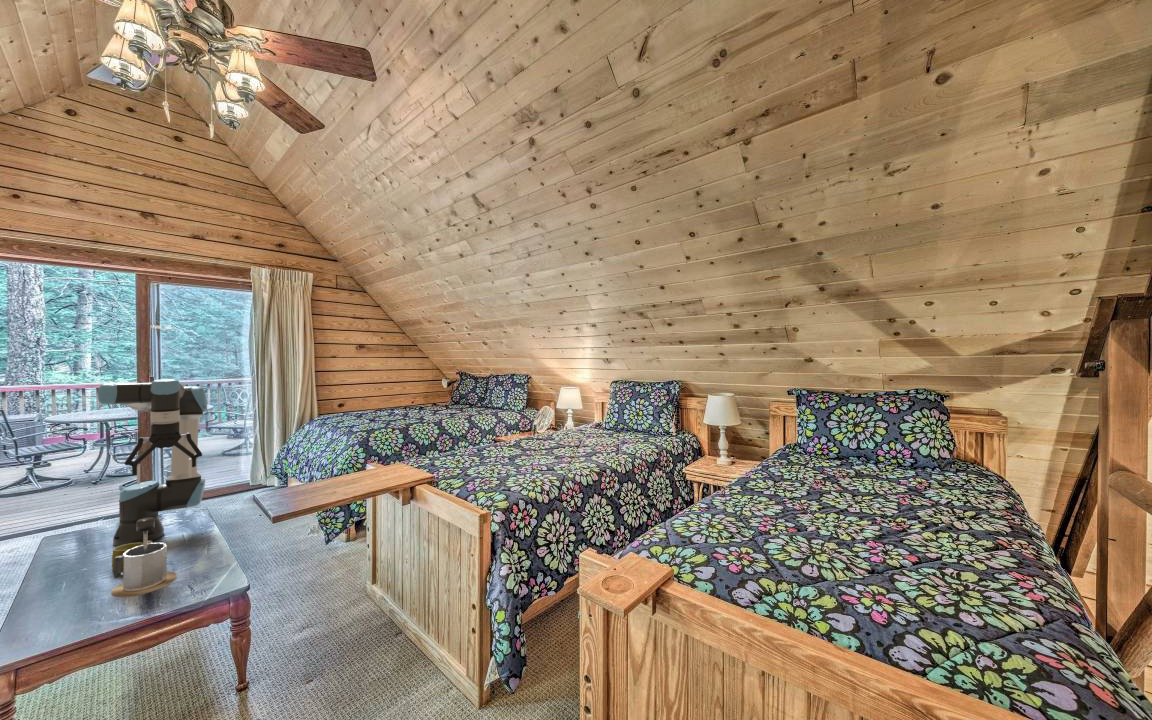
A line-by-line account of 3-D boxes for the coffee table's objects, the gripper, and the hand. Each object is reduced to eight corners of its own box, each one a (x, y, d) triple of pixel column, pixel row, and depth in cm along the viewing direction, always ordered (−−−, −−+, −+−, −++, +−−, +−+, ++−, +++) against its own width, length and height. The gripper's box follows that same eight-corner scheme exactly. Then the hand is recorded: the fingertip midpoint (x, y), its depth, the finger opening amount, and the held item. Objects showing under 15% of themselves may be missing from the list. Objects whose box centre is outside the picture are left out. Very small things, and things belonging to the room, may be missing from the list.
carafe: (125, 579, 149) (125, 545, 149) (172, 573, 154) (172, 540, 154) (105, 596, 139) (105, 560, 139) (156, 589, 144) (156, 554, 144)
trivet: (129, 577, 152) (129, 575, 152) (185, 570, 158) (185, 568, 158) (98, 602, 137) (98, 600, 137) (162, 593, 143) (162, 592, 143)
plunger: (137, 572, 149) (138, 517, 149) (164, 569, 152) (164, 514, 151) (125, 583, 142) (125, 525, 142) (152, 579, 145) (153, 522, 145)
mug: (123, 572, 151) (124, 543, 154) (102, 577, 153) (103, 548, 156) (163, 563, 163) (163, 536, 165) (143, 567, 165) (144, 541, 167)
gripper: (114, 427, 143) (114, 489, 144) (211, 420, 161) (211, 475, 162) (115, 424, 148) (115, 483, 149) (209, 417, 166) (208, 470, 167)
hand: (165, 479), depth 155 cm, fingers open, 13 cm apart
